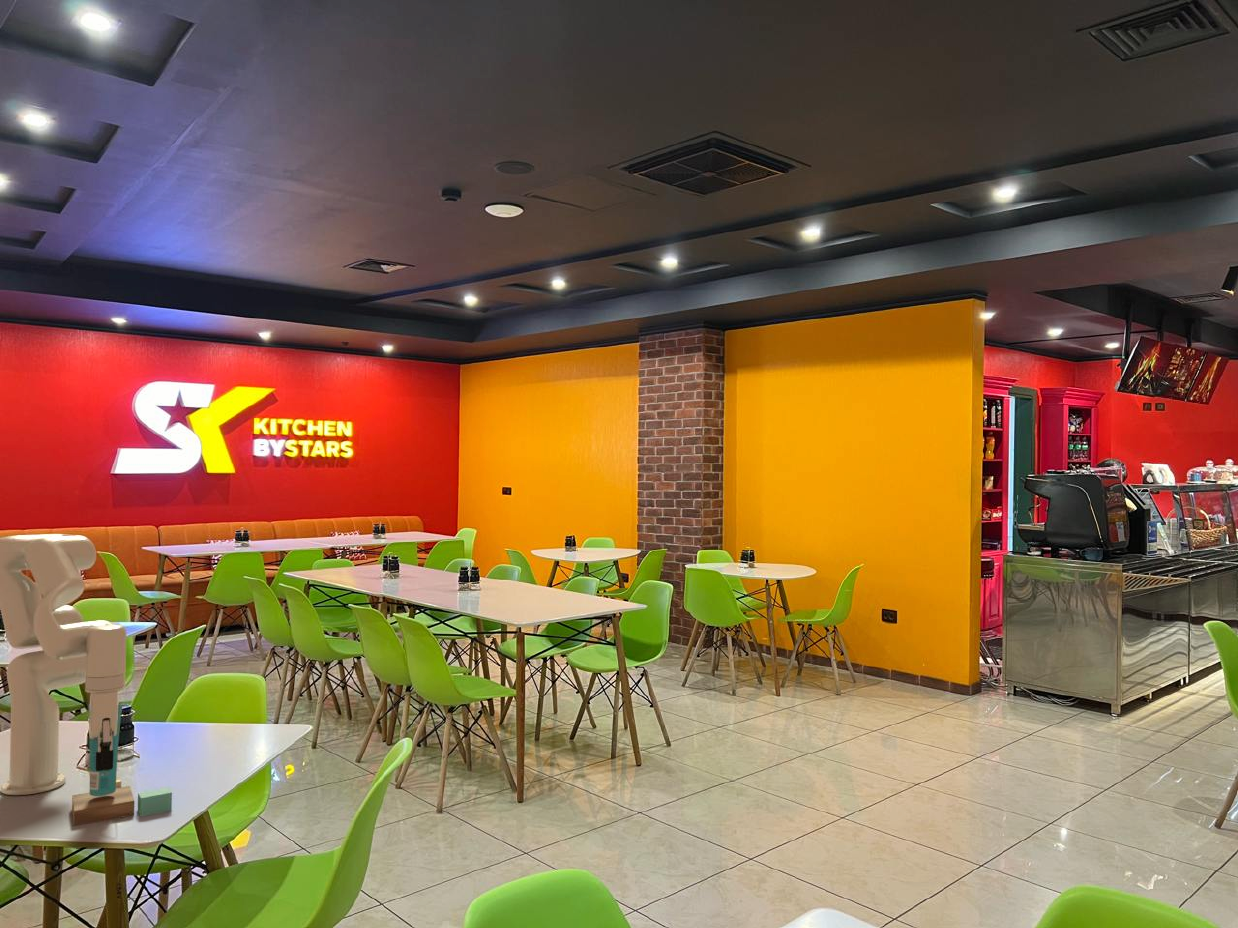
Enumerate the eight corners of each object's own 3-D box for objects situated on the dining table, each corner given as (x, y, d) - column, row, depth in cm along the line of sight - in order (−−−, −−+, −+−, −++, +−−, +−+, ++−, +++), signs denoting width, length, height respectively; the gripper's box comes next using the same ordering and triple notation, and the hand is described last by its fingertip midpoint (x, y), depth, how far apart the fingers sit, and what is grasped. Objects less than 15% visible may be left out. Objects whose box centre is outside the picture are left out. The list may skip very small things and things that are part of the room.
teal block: (140, 816, 186) (141, 798, 186) (137, 811, 190) (138, 792, 190) (171, 810, 190) (171, 792, 190) (168, 805, 193) (168, 787, 193)
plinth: (72, 808, 190) (72, 795, 190) (129, 799, 196) (129, 785, 196) (74, 825, 181) (74, 810, 181) (134, 814, 187) (134, 800, 187)
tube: (125, 788, 191) (128, 701, 192) (114, 796, 187) (117, 706, 187) (89, 789, 191) (92, 701, 191) (78, 797, 186) (81, 707, 187)
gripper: (83, 676, 194) (81, 758, 194) (87, 692, 180) (85, 780, 180) (122, 673, 198) (120, 753, 198) (128, 688, 184) (126, 774, 184)
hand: (103, 765), depth 189 cm, fingers closed on tube, 4 cm apart
